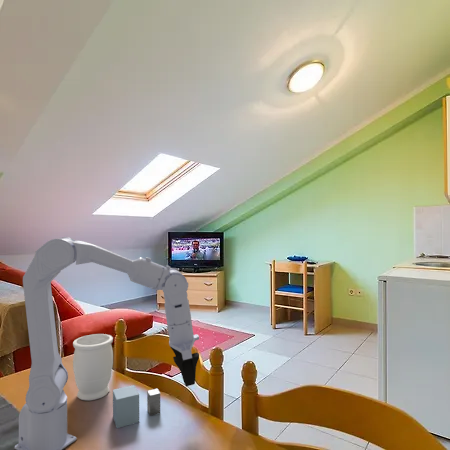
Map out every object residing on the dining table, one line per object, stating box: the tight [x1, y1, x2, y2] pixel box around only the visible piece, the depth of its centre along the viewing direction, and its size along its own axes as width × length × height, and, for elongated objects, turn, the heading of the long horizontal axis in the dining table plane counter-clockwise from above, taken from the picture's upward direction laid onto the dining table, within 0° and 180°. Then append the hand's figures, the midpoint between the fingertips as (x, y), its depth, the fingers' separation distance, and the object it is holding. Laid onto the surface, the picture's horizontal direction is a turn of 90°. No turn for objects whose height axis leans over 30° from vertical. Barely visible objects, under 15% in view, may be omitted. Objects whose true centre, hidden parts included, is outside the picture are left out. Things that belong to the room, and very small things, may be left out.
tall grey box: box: [112, 384, 140, 429], centre depth 80 cm, size 5×5×7 cm
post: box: [146, 388, 161, 417], centre depth 83 cm, size 3×3×5 cm
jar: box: [72, 333, 114, 401], centre depth 92 cm, size 11×10×15 cm
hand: (187, 377), depth 78 cm, fingers open, 7 cm apart
